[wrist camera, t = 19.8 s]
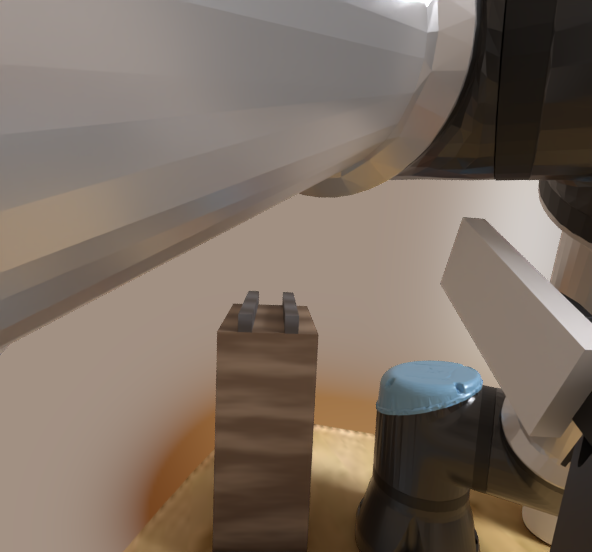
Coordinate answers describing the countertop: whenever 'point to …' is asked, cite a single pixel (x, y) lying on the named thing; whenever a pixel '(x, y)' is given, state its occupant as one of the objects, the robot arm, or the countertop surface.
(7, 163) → the robot arm
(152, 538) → the countertop surface
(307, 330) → the walnut stand
